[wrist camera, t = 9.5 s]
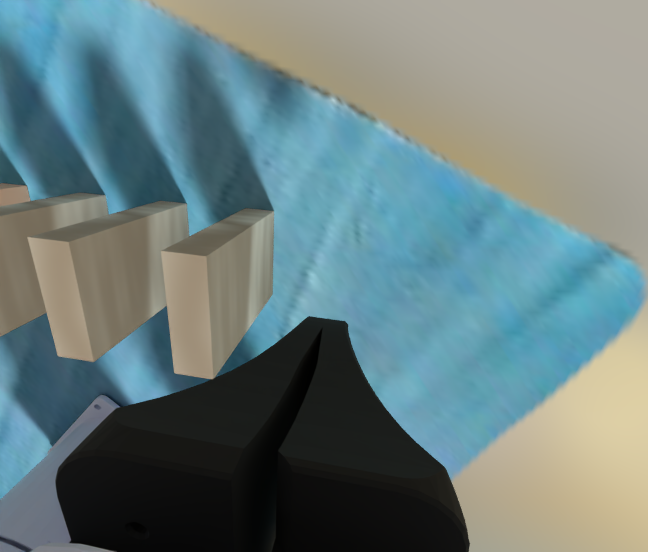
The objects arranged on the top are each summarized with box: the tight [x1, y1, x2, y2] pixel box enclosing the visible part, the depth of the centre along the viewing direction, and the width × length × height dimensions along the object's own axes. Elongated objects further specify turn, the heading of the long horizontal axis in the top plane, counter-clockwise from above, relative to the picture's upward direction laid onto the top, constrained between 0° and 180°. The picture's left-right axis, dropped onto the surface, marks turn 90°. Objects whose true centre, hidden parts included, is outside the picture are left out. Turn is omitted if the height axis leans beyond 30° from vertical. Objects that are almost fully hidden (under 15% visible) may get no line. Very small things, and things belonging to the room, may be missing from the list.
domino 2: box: [27, 201, 189, 362], centre depth 17 cm, size 2×5×8 cm, turn 176°
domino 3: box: [161, 208, 274, 379], centre depth 16 cm, size 2×5×8 cm, turn 176°
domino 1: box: [0, 193, 109, 337], centre depth 17 cm, size 2×5×8 cm, turn 176°
